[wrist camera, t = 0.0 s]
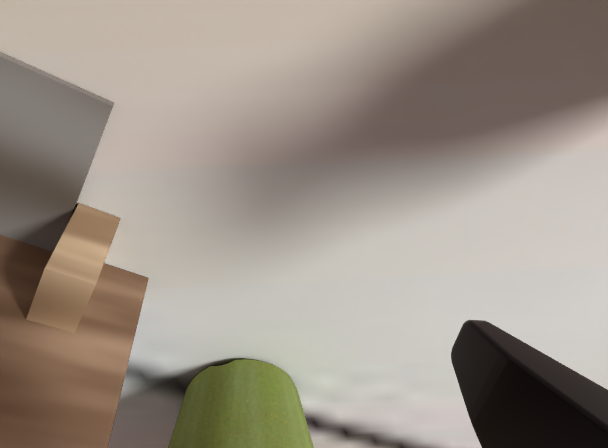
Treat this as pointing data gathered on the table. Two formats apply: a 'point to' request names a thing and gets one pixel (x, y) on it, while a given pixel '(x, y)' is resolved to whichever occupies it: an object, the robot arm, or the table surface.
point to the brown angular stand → (57, 270)
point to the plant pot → (241, 409)
